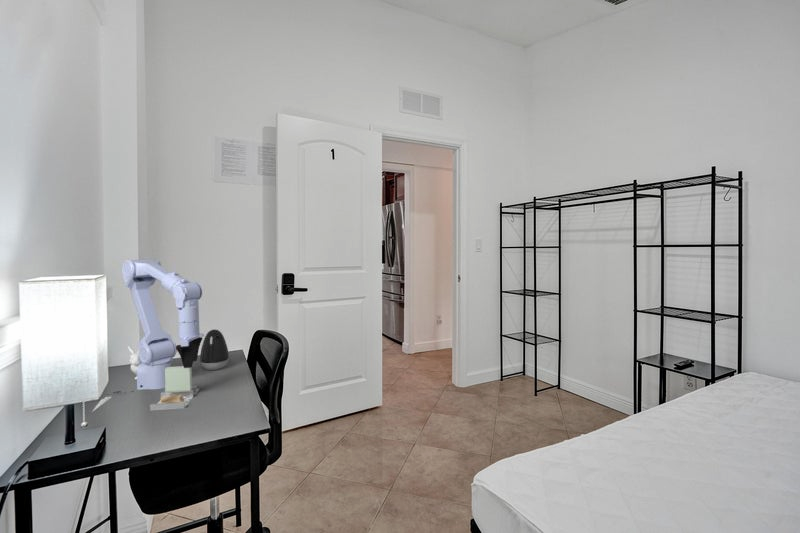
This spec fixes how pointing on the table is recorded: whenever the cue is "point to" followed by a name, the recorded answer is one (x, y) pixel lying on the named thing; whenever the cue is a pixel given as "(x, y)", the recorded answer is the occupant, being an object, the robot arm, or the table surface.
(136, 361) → the rabbit
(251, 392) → the table surface
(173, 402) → the offcut lower
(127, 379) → the table surface
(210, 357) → the black egg shaped speaker
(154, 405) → the rack
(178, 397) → the offcut upper
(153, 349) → the robot arm
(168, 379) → the pale green rectangular block
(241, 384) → the table surface
